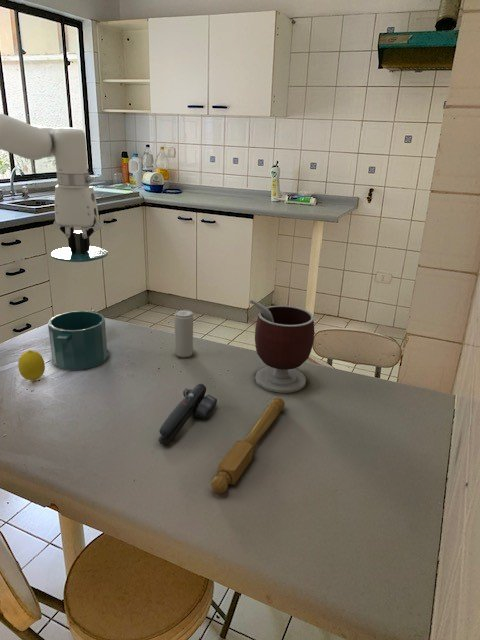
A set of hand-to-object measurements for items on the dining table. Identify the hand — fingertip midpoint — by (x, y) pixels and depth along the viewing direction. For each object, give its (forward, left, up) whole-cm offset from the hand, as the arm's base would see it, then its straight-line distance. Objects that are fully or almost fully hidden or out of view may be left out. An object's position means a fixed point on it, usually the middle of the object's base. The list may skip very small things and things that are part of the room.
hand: (79, 251), depth 124 cm
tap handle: (+49, -45, -25) cm, 71 cm away
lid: (0, 0, -1) cm, 1 cm away
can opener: (+35, -39, -25) cm, 58 cm away
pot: (+3, -14, -25) cm, 28 cm away
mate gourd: (+54, -18, -25) cm, 62 cm away
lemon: (-3, -27, -25) cm, 37 cm away
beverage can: (+29, -8, -25) cm, 39 cm away
